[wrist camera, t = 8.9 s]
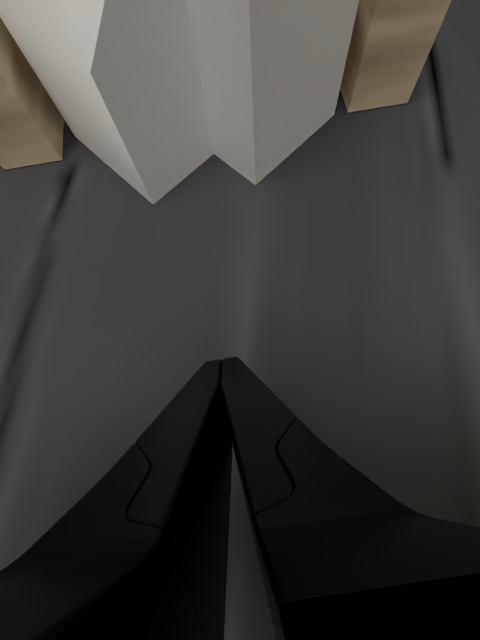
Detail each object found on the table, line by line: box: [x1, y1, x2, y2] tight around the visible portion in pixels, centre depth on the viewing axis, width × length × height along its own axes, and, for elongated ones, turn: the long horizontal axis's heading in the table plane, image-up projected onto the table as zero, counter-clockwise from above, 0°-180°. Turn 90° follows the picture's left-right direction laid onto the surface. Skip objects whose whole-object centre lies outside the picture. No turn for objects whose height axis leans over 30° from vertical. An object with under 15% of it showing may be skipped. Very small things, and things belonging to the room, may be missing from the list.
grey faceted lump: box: [0, 0, 359, 205], centre depth 15 cm, size 11×11×12 cm
